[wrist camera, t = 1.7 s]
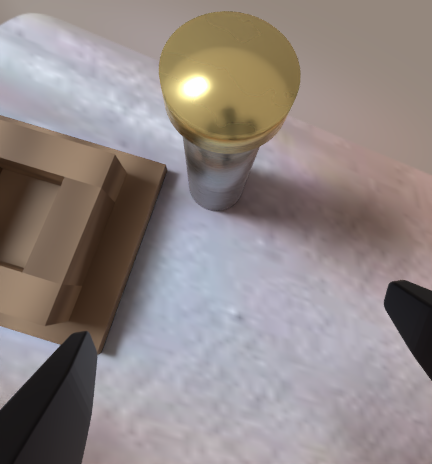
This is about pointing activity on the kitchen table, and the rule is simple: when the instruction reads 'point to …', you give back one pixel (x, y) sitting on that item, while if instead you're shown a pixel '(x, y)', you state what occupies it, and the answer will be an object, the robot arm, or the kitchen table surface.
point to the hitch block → (68, 230)
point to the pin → (226, 97)
